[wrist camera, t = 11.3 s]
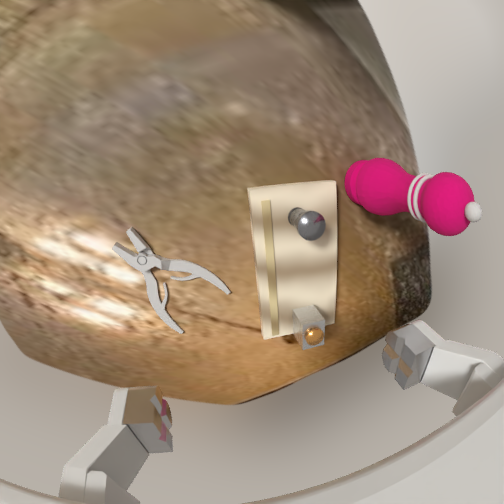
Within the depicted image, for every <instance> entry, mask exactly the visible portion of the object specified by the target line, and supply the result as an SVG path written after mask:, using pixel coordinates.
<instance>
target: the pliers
mask: <svg viewBox="0 0 504 504" xmlns="http://www.w3.org/2000/svg"><path fill="white" fill-rule="evenodd" d="M126 233H127V234H128V236H129V238H130V239H131V241H132V243H133V244H134V246H135V248H136V249H137V251H138V252H139V254H138V255H137V254H136V253H134V252H133V251H131V250H129V249H127V248H126V247H124V246H122V245H121V244H119V243H117V242H116V243H115V245H114V246H113V248H112V249H113V250H114V251H115V252H116V253H117V254H118V255H119V256H120V257H122V258H123V259H124V260H125V261H126V262H127V263H128V264H130V265H131V266H132V267H134V268H135V269H137V270H139V271H141V272H142V274H143V275H144V278H145V281H146V284H147V294H148V297H149V300H150V302H151V304H152V306H153V308H154V310H155V311H156V313H157V314H158V315H159V317H160V318H161V319H162V320H163V321H164V322H165V323H166V324H167V325H168V326H170V327H171V328H172V329H174V330H175V331H177V332H179V333H181V334H182V333H183V332H184V331H183V330H182V329H181V328H180V327H179V326H178V325H177V324H176V322H175V321H174V320H173V319H172V318H171V317H170V315H169V314H168V313H167V311H166V310H165V304H166V301H167V295H168V292H167V287H166V283H163V285H164V289H165V298H164V300H163V302H162V303H161V301H160V298H159V294H158V286H157V280H156V279H155V277H154V275H153V274H152V272H151V271H150V269H151V268H153V267H155V266H156V267H158V268H160V269H161V270H168V271H182V272H189V273H192V275H190V276H187V277H175V276H171V278H170V279H175V280H181V281H184V280H190V279H193V278H197V277H201V278H203V279H205V280H207V281H209V282H211V283H212V284H214V285H215V286H217V287H218V288H220V289H221V290H222V291H224V292H225V293H226V294H229V293H230V290H229V289H228V288H227V286H226V285H225V284H224V283H223V282H222V280H221V279H219V278H218V277H217V276H216V275H215V274H213V273H212V272H211V271H209V270H207V269H206V268H204V267H202V266H200V265H198V264H195V263H193V262H190V261H186V260H179V259H168V258H164V257H161V256H160V255H155V254H154V253H153V252H152V250H151V248H150V247H149V245H148V244H147V243H146V242H145V241H144V240H143V239H142V238H141V237H140V235H139V234H138V233H137V232H136V231H135V230H134V229H133V228H130V229H128V230H127V231H126Z"/></svg>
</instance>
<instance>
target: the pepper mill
mask: <svg viewBox="0 0 504 504" xmlns="http://www.w3.org/2000/svg"><path fill="white" fill-rule="evenodd" d="M345 189H346V192H347V195H348V196H349V198H350V199H351V200H352V201H353V202H355V203H356V204H359V205H362V206H363V207H364V208H365V209H366V210H367V211H369V212H371V213H373V214H377V215H393V214H396V213H399V212H410V213H411V215H412V216H413V217H414V218H415V219H417V220H419V221H422V222H424V223H427V224H428V226H429V227H430V228H431V229H432V230H433V231H435V232H436V233H438V234H441V235H444V236H454V235H457V234H459V233H461V232H463V231H464V230H465V229H466V228H467V227H468V225H469V223H470V222H477V221H478V220H480V218H481V216H482V209H481V207H480V206H479V204H478V203H476V202H474V195H473V192H472V190H471V188H470V186H469V185H468V183H467V182H466V181H465V180H464V179H463V178H462V177H460V176H458V175H456V174H454V173H449V172H442V173H439V174H436V175H433V174H427V173H423V174H420V175H418V176H414V175H410V174H408V173H407V172H406V171H405V170H404V169H403V168H402V167H401V166H400V165H398V164H397V163H395V162H393V161H392V160H389V159H385V158H375V159H371V160H369V161H368V160H360V161H357V162H355V163H354V164H352V165H351V166H350V168H349V169H348V171H347V173H346V176H345Z"/></svg>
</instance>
